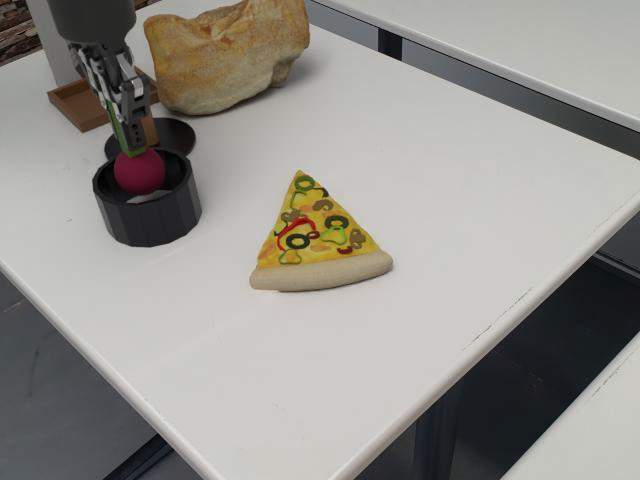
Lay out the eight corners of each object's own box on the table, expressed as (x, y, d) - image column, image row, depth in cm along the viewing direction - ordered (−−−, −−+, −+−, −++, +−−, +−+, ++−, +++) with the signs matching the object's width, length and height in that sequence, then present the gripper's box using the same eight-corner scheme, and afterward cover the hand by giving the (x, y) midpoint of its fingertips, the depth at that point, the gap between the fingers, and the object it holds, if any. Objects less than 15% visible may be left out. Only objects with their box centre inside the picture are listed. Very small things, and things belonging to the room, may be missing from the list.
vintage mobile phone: (88, 90, 105) (26, -94, 87) (58, 89, 106) (-10, -94, 88) (97, 78, 108) (40, -104, 89) (68, 76, 108) (5, -103, 90)
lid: (132, 187, 88) (117, 142, 83) (91, 147, 95) (75, 103, 90) (213, 150, 92) (204, 105, 88) (169, 114, 99) (158, 71, 94)
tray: (83, 137, 96) (79, 123, 95) (51, 105, 103) (46, 92, 101) (169, 102, 102) (165, 88, 100) (132, 73, 108) (129, 60, 106)
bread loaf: (282, 50, 112) (267, -50, 102) (325, 86, 101) (312, -23, 91) (144, 90, 107) (113, -12, 97) (173, 133, 95) (141, 23, 85)
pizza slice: (252, 301, 73) (248, 281, 71) (239, 185, 87) (236, 165, 84) (396, 281, 74) (397, 260, 72) (361, 169, 88) (360, 149, 85)
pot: (135, 264, 78) (119, 219, 73) (93, 217, 84) (75, 172, 79) (219, 222, 82) (210, 176, 77) (173, 180, 88) (161, 135, 83)
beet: (135, 212, 77) (106, 121, 69) (113, 189, 80) (83, 99, 72) (178, 192, 80) (156, 101, 71) (155, 170, 83) (131, 81, 74)
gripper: (15, -34, 65) (73, 129, 78) (76, 13, 57) (130, 185, 70) (88, -55, 68) (133, 105, 80) (156, -13, 60) (193, 156, 73)
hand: (131, 141), depth 75 cm, fingers closed on beet
